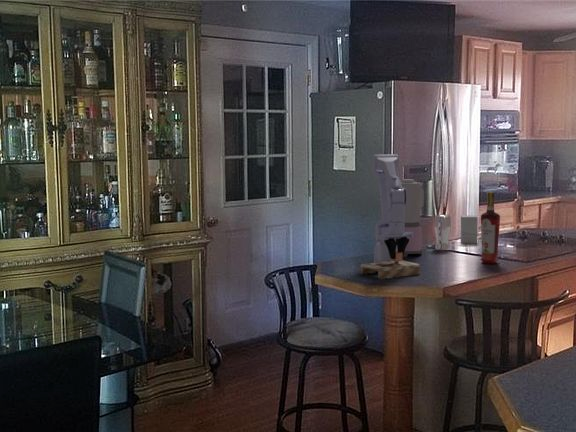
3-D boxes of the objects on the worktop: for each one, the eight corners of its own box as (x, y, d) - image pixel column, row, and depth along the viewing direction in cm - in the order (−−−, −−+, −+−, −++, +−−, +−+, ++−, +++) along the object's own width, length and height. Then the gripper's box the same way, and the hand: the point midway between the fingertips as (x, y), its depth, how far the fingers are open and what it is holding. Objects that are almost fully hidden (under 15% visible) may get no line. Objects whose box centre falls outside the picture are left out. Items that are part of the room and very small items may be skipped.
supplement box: (476, 241, 335) (476, 214, 334) (477, 243, 328) (477, 216, 326) (460, 241, 337) (460, 214, 335) (461, 243, 329) (461, 216, 328)
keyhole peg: (388, 272, 263) (389, 251, 261) (397, 271, 264) (397, 250, 263) (395, 274, 259) (395, 253, 258) (403, 273, 261) (404, 252, 260)
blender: (407, 257, 293) (407, 180, 290) (387, 254, 303) (387, 179, 300) (433, 253, 302) (434, 179, 298) (413, 250, 312) (414, 177, 308)
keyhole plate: (380, 279, 251) (380, 269, 250) (360, 273, 261) (360, 264, 261) (419, 274, 259) (419, 264, 259) (399, 268, 270) (399, 259, 269)
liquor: (476, 263, 279) (477, 192, 276) (485, 260, 284) (486, 191, 281) (493, 265, 274) (495, 193, 271) (502, 262, 279) (503, 192, 276)
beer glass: (452, 250, 310) (452, 216, 308) (436, 250, 310) (436, 216, 309) (448, 248, 317) (449, 214, 315) (433, 248, 317) (433, 215, 315)
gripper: (387, 224, 252) (387, 261, 254) (419, 221, 259) (418, 257, 261) (375, 222, 259) (375, 258, 260) (406, 219, 266) (406, 255, 267)
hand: (396, 258), depth 261 cm, fingers closed on keyhole peg, 3 cm apart
